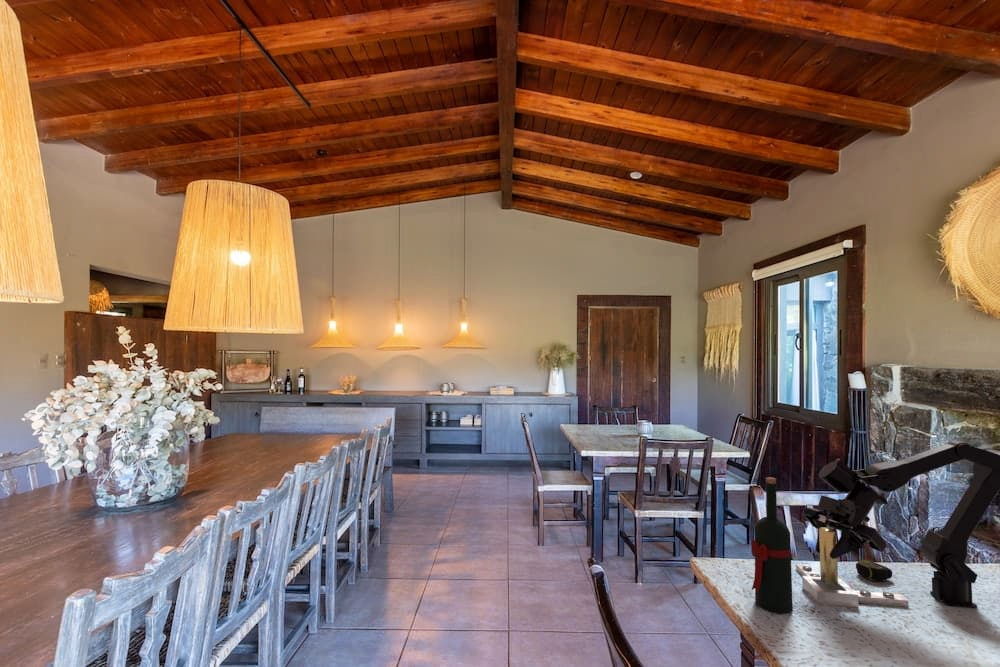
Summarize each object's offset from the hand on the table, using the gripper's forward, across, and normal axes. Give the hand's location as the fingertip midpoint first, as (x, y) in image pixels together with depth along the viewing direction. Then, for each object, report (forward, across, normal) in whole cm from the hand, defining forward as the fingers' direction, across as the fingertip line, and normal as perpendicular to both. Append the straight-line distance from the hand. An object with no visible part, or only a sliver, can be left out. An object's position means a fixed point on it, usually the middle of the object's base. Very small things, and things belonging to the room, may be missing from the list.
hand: (824, 554), depth 123 cm
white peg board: (+1, -3, +14) cm, 14 cm away
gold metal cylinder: (+4, 0, +6) cm, 7 cm away
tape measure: (-9, -6, +24) cm, 27 cm away
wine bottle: (+19, 0, -4) cm, 20 cm away
